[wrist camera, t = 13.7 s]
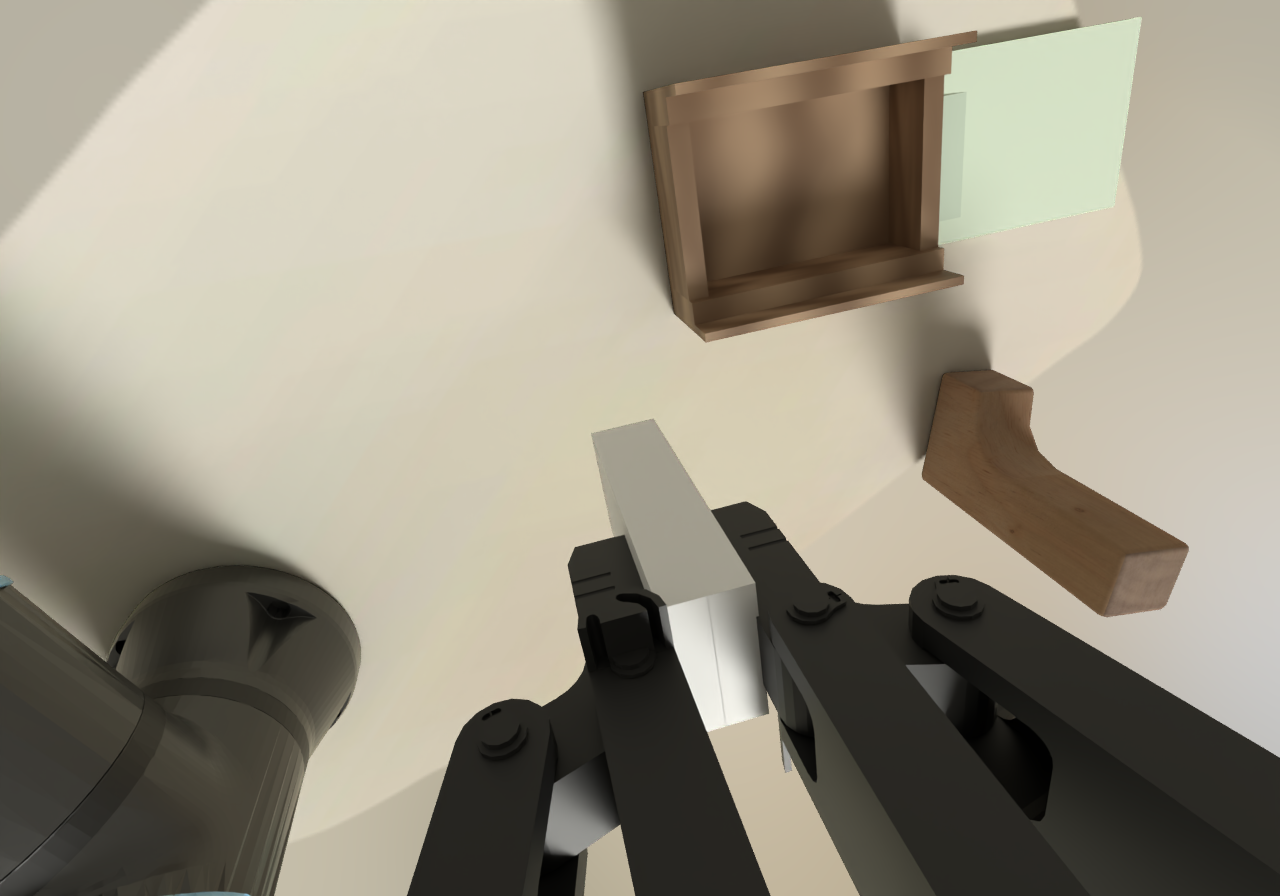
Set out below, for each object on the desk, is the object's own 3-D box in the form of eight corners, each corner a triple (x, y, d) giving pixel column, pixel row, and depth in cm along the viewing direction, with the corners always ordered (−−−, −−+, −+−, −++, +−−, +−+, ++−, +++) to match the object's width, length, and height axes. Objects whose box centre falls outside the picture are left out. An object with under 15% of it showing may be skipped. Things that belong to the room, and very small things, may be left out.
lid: (894, 250, 46) (928, 259, 43) (895, 61, 41) (934, 54, 38) (1100, 205, 48) (1149, 210, 45) (1125, 19, 43) (1183, 9, 40)
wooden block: (941, 371, 51) (1154, 479, 35) (993, 368, 52) (1225, 472, 36) (918, 478, 54) (1102, 620, 38) (968, 474, 55) (1167, 611, 39)
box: (674, 313, 44) (705, 342, 38) (643, 92, 39) (674, 83, 32) (898, 264, 46) (963, 284, 40) (900, 46, 41) (977, 30, 34)
